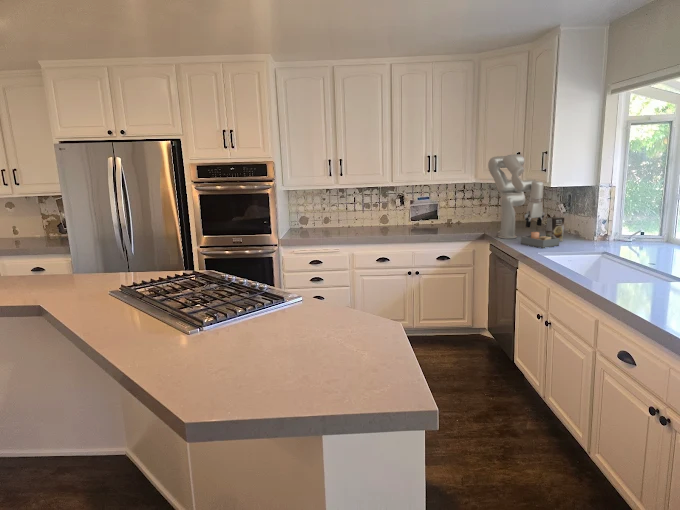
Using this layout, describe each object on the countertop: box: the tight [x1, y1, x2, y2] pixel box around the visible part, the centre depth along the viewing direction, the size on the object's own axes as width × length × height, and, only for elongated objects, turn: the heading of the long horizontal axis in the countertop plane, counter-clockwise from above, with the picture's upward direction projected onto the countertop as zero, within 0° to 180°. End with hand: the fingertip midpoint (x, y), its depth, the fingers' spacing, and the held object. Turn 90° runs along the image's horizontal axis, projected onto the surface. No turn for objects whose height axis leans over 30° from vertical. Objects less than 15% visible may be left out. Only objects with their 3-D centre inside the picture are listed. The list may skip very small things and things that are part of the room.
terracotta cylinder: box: [530, 231, 540, 239], centre depth 296 cm, size 5×5×7 cm
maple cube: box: [539, 235, 551, 240], centre depth 289 cm, size 5×5×5 cm
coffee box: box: [545, 216, 565, 243], centre depth 302 cm, size 9×6×16 cm
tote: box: [520, 234, 560, 249], centre depth 293 cm, size 18×14×5 cm
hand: (533, 226), depth 297 cm, fingers open, 9 cm apart
